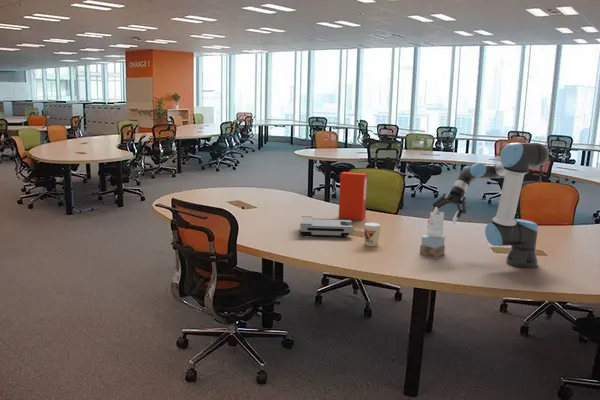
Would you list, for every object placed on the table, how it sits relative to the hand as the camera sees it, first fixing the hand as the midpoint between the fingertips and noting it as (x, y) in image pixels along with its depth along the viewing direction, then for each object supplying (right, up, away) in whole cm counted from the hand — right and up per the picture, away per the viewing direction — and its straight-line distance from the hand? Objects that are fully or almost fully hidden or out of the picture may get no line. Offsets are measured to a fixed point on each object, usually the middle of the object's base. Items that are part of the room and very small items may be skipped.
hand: (442, 219), depth 288 cm
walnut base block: (-6, -19, -1) cm, 20 cm away
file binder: (-42, -2, +80) cm, 91 cm away
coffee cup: (-38, -15, +14) cm, 43 cm away
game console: (-63, -10, +37) cm, 74 cm away
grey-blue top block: (-6, -14, -2) cm, 16 cm away
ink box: (-5, -10, -3) cm, 11 cm away
